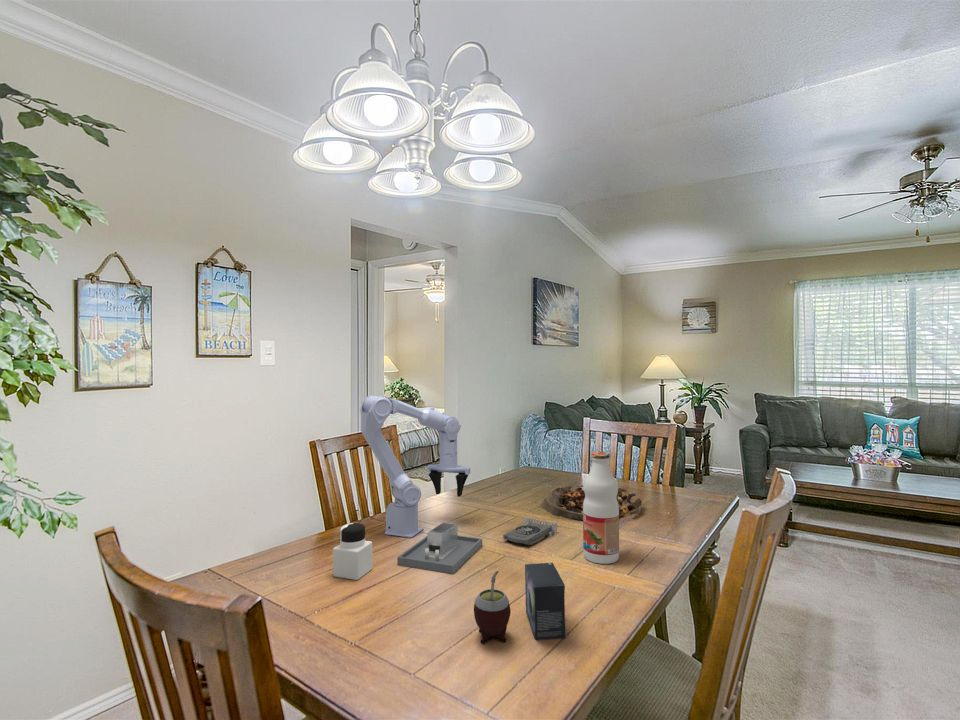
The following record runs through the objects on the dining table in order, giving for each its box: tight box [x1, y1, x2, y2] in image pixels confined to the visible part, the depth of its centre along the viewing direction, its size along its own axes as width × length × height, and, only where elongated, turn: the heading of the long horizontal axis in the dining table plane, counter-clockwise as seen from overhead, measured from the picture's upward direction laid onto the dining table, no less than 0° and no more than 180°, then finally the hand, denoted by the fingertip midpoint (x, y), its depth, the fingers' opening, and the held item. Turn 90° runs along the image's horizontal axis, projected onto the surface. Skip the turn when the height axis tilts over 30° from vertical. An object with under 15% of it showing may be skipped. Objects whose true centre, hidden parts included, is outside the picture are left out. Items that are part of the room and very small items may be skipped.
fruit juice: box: [582, 451, 620, 565], centre depth 133 cm, size 9×9×28 cm
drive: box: [426, 521, 459, 557], centre depth 137 cm, size 4×9×6 cm, turn 155°
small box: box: [524, 562, 567, 641], centre depth 100 cm, size 11×6×10 cm, turn 5°
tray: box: [396, 535, 483, 575], centre depth 136 cm, size 16×20×4 cm
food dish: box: [540, 485, 643, 521], centre depth 178 cm, size 35×33×8 cm
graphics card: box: [502, 516, 558, 546], centre depth 150 cm, size 17×4×12 cm
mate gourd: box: [473, 570, 511, 645], centre depth 96 cm, size 8×8×15 cm
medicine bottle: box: [332, 522, 373, 581], centre depth 125 cm, size 7×7×12 cm
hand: (448, 494), depth 162 cm, fingers open, 7 cm apart
